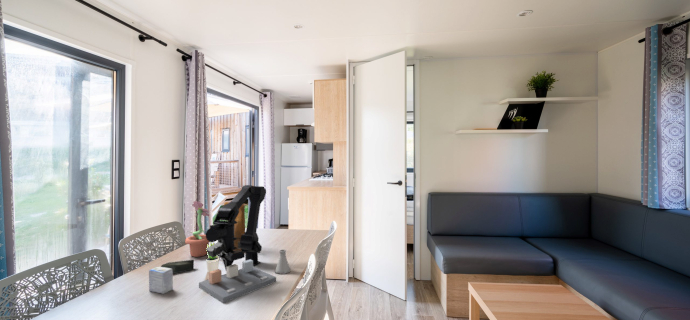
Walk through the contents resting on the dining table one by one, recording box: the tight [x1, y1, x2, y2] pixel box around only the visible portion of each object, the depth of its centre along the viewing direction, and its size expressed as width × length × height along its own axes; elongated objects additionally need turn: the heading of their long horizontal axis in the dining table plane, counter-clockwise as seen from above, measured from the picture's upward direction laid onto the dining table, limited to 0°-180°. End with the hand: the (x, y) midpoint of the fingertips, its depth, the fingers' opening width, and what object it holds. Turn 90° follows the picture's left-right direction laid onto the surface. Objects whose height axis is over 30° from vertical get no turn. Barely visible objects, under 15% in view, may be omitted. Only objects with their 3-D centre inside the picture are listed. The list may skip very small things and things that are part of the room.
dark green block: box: [160, 259, 195, 274], centre depth 135 cm, size 5×3×15 cm
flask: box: [274, 249, 291, 275], centre depth 137 cm, size 7×7×10 cm
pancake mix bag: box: [223, 201, 246, 253], centre depth 167 cm, size 7×19×28 cm, turn 49°
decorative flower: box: [185, 200, 210, 258], centre depth 159 cm, size 15×14×30 cm
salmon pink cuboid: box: [208, 268, 222, 284], centre depth 120 cm, size 2×4×4 cm, turn 140°
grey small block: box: [241, 259, 254, 273], centre depth 131 cm, size 2×4×4 cm, turn 140°
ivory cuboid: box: [226, 263, 239, 278], centre depth 126 cm, size 2×4×4 cm, turn 140°
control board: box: [198, 266, 277, 304], centre depth 123 cm, size 20×24×3 cm
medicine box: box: [148, 266, 174, 295], centre depth 117 cm, size 8×4×9 cm, turn 71°
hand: (227, 270), depth 128 cm, fingers closed
